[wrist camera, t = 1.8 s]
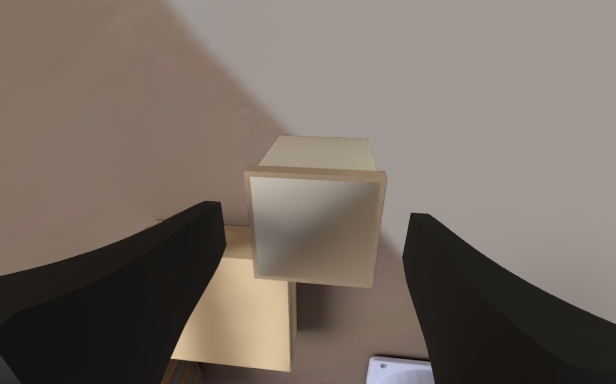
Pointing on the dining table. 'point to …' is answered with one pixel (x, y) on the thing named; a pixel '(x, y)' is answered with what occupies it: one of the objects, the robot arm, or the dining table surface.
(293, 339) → the block
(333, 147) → the framed cream cube
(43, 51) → the dining table surface
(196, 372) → the vase
